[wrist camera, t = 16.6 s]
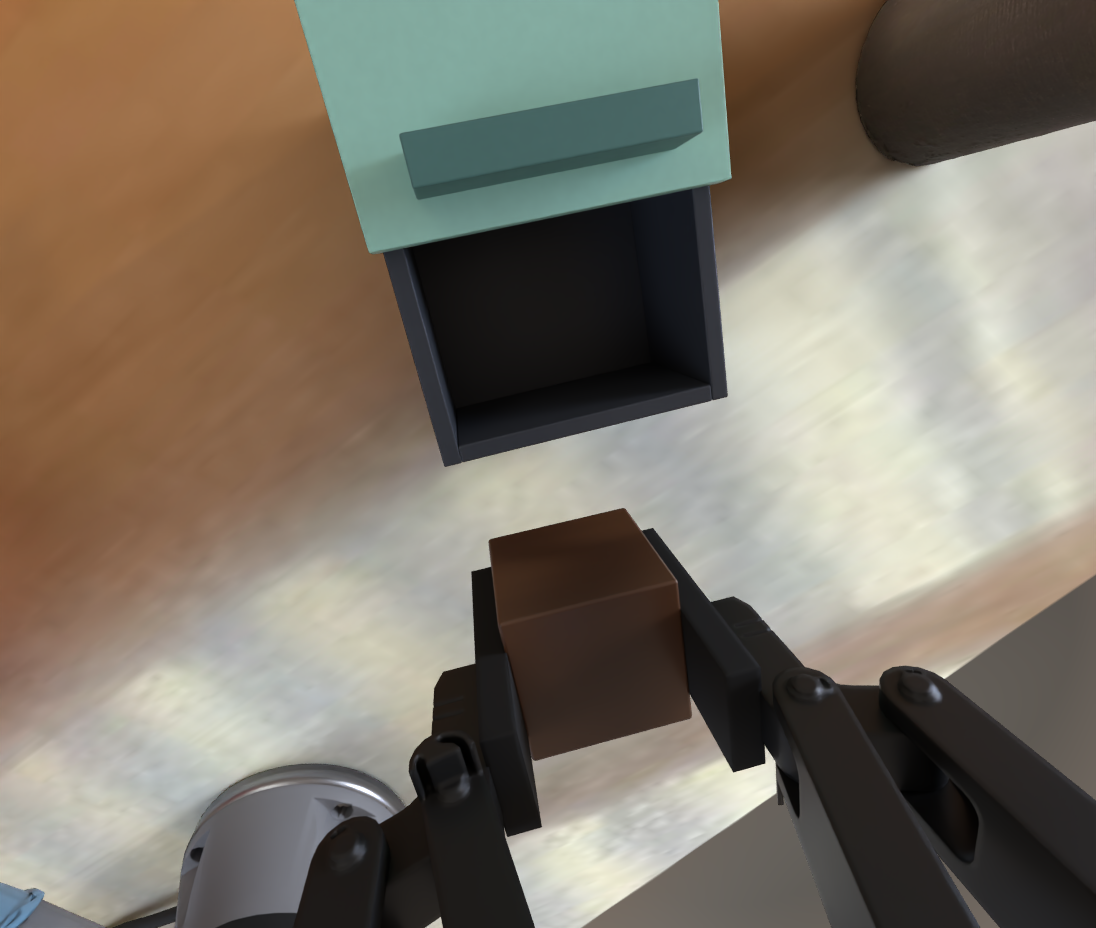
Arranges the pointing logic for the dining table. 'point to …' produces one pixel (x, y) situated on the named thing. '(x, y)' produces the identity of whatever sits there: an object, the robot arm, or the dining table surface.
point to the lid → (516, 107)
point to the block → (589, 632)
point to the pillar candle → (975, 74)
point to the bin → (564, 323)
